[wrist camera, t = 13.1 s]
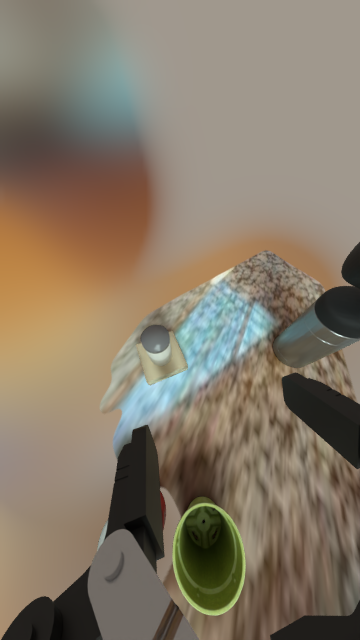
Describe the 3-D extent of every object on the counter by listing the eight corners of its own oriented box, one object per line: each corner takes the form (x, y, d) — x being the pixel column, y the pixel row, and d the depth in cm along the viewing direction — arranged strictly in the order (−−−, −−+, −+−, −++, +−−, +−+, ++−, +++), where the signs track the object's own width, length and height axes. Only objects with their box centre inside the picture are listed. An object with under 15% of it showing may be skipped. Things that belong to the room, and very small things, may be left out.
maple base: (173, 336, 48) (172, 330, 45) (187, 369, 43) (187, 365, 40) (139, 349, 46) (135, 344, 43) (149, 385, 41) (147, 382, 38)
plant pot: (210, 583, 26) (220, 646, 19) (165, 525, 30) (157, 560, 22) (240, 515, 30) (258, 546, 22) (196, 470, 33) (199, 485, 26)
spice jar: (167, 341, 44) (163, 321, 35) (175, 361, 41) (173, 344, 32) (146, 349, 42) (137, 330, 34) (153, 370, 40) (145, 355, 31)
